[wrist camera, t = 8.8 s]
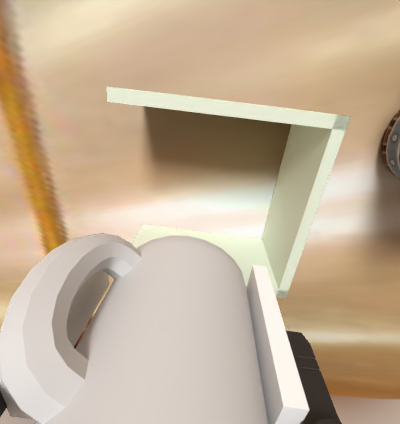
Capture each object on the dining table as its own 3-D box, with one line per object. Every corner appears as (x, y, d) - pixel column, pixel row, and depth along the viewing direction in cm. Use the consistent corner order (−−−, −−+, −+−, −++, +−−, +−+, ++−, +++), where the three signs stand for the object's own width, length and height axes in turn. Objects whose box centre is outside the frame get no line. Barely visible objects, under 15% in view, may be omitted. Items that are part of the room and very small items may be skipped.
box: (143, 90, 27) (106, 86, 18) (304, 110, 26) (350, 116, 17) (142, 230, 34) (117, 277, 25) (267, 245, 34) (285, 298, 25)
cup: (176, 341, 16) (138, 580, 8) (58, 239, 13) (-189, 463, 5) (269, 295, 14) (342, 563, 6) (153, 160, 11) (-23, 337, 3)
